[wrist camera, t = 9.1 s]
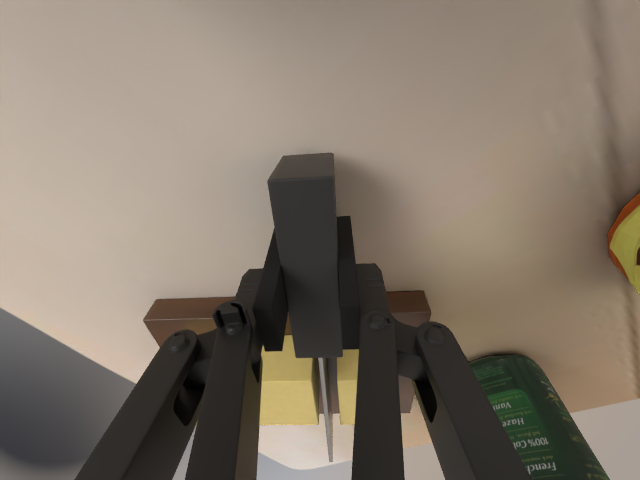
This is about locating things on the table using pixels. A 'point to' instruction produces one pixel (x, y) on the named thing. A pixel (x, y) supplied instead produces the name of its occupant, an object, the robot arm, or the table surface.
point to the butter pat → (347, 385)
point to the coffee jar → (536, 419)
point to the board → (198, 318)
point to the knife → (310, 260)
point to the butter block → (289, 388)
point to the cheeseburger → (627, 242)
